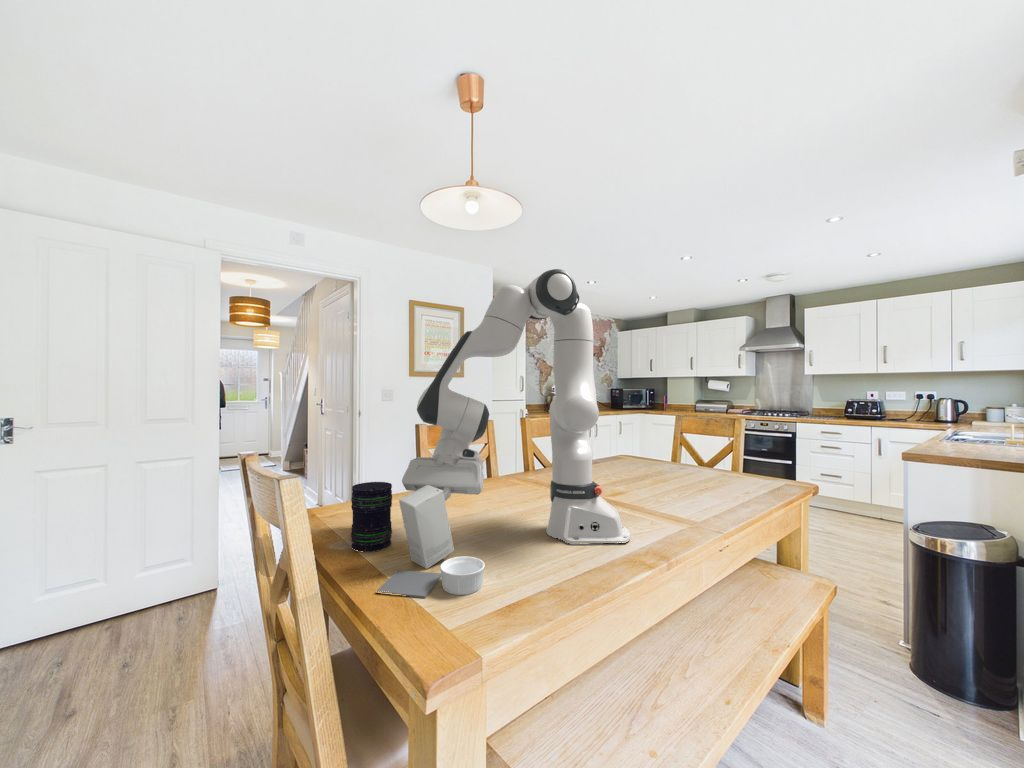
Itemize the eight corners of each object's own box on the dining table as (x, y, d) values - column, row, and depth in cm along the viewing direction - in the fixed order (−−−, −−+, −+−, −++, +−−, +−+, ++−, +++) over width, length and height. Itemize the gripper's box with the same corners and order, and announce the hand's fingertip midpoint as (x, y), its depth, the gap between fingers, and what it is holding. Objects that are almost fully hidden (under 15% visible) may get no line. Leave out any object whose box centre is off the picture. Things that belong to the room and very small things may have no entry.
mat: (442, 575, 89) (442, 573, 89) (425, 598, 79) (425, 596, 79) (397, 572, 90) (397, 570, 90) (375, 593, 80) (375, 591, 80)
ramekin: (489, 593, 81) (489, 571, 81) (443, 600, 78) (443, 576, 78) (479, 574, 89) (479, 554, 89) (437, 579, 87) (437, 558, 87)
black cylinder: (349, 541, 109) (350, 483, 109) (388, 536, 113) (389, 480, 113) (352, 555, 100) (353, 491, 100) (394, 548, 104) (395, 488, 104)
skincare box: (439, 543, 101) (428, 483, 98) (456, 551, 97) (445, 489, 94) (409, 561, 96) (397, 498, 93) (426, 571, 91) (413, 505, 88)
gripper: (408, 449, 109) (390, 496, 99) (485, 452, 105) (474, 501, 95) (415, 464, 113) (398, 510, 103) (489, 467, 110) (478, 515, 100)
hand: (435, 506), depth 99 cm, fingers closed
